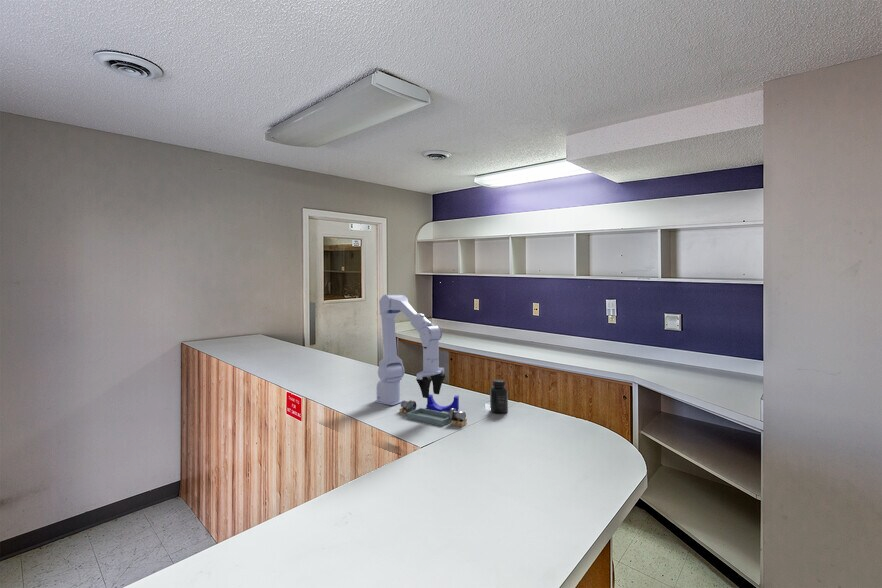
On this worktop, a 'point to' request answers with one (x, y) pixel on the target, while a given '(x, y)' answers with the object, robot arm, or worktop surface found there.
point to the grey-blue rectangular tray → (429, 416)
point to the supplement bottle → (499, 397)
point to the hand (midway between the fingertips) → (431, 395)
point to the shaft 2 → (457, 417)
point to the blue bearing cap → (436, 407)
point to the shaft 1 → (407, 406)
